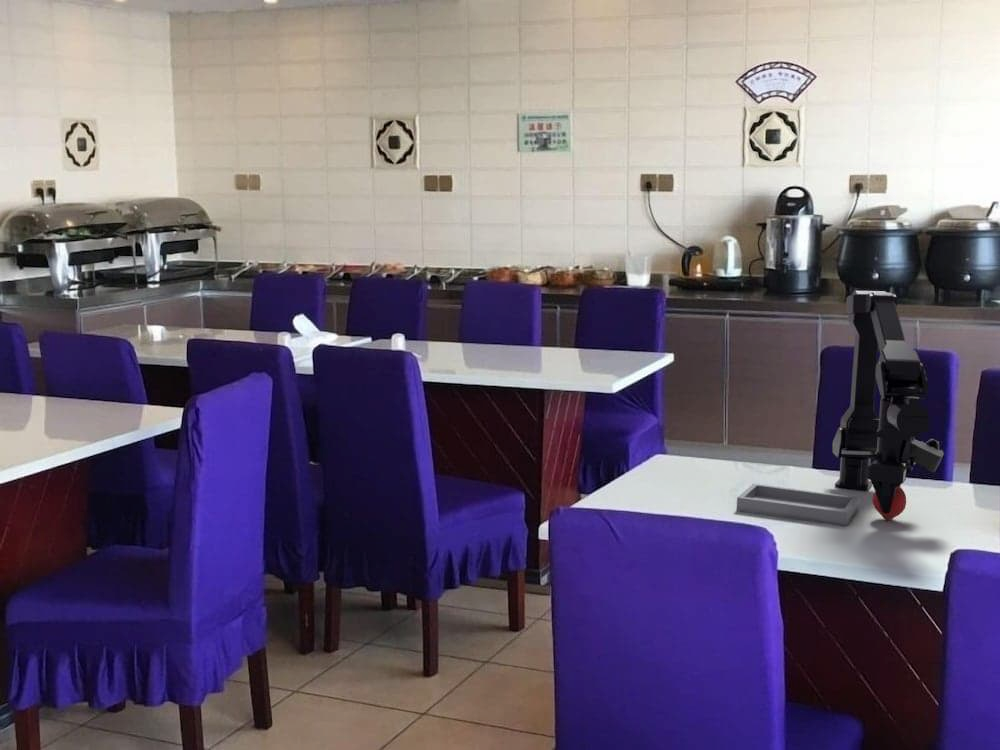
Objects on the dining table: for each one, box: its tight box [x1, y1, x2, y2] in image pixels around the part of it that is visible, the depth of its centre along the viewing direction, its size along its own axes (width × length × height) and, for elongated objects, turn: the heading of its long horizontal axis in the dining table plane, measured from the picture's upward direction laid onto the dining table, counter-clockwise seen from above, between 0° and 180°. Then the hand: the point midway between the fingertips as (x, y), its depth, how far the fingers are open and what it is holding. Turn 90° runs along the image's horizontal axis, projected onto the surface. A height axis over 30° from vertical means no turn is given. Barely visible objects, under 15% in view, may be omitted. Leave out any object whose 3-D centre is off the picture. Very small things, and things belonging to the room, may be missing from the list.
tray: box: [736, 483, 860, 527], centre depth 225 cm, size 12×20×2 cm, turn 64°
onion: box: [872, 486, 907, 521], centre depth 220 cm, size 6×6×8 cm
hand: (888, 509), depth 220 cm, fingers closed on onion, 6 cm apart
